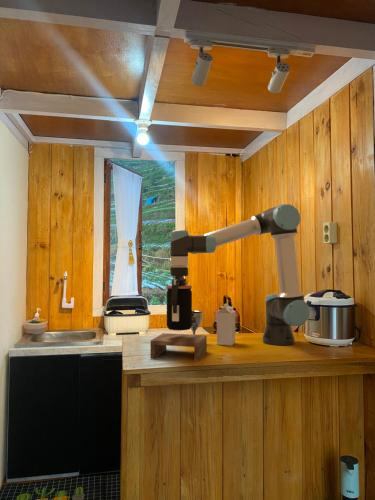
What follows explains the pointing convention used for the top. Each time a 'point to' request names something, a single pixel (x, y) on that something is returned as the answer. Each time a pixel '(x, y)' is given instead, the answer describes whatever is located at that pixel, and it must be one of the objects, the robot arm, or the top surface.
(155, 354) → the walnut shelf
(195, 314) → the wine glass
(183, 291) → the coffee jar
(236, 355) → the top surface
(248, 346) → the top surface
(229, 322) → the milk carton
